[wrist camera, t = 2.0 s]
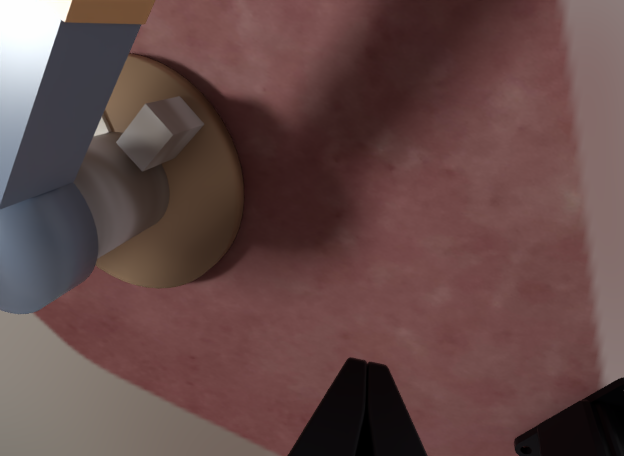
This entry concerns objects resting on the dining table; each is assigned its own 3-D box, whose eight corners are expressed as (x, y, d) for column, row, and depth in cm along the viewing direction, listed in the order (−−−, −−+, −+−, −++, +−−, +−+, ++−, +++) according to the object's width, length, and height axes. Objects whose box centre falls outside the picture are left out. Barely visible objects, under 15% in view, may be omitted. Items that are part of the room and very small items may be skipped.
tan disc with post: (289, 165, 21) (224, 212, 15) (179, 317, 27) (103, 390, 21) (86, -5, 21) (-51, -18, 15) (19, 184, 27) (-97, 223, 21)
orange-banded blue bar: (70, 313, 20) (5, 359, 17) (-38, 224, 20) (-121, 254, 17) (231, 6, 12) (164, -1, 10) (62, -136, 12) (-52, -181, 10)
